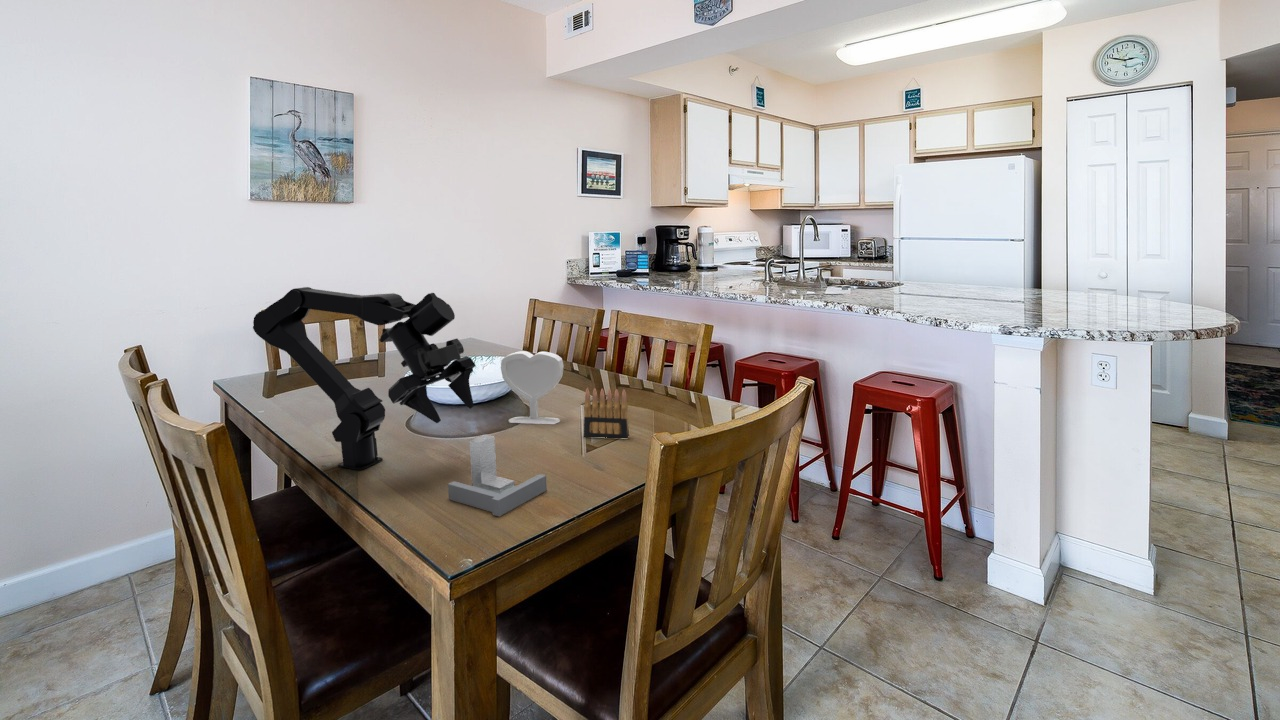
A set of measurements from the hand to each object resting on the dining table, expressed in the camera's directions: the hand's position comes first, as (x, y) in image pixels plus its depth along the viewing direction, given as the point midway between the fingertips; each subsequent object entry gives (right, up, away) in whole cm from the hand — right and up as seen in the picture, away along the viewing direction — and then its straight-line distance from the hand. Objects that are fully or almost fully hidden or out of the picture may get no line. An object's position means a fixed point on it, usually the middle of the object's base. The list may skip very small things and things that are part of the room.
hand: (456, 414), depth 125 cm
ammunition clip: (+28, -8, +26) cm, 39 cm away
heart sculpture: (+9, -5, +39) cm, 40 cm away
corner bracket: (+10, -14, -7) cm, 19 cm away
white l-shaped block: (+9, -14, -6) cm, 18 cm away
